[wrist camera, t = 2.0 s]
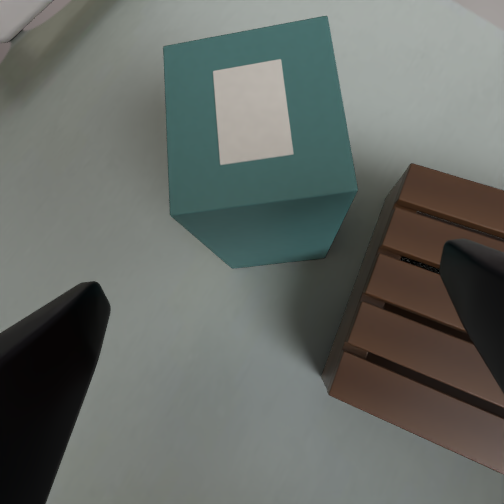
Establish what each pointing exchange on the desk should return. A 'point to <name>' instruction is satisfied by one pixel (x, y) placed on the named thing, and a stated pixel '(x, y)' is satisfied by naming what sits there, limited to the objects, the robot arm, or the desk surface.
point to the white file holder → (18, 16)
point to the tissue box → (259, 143)
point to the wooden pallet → (421, 321)
